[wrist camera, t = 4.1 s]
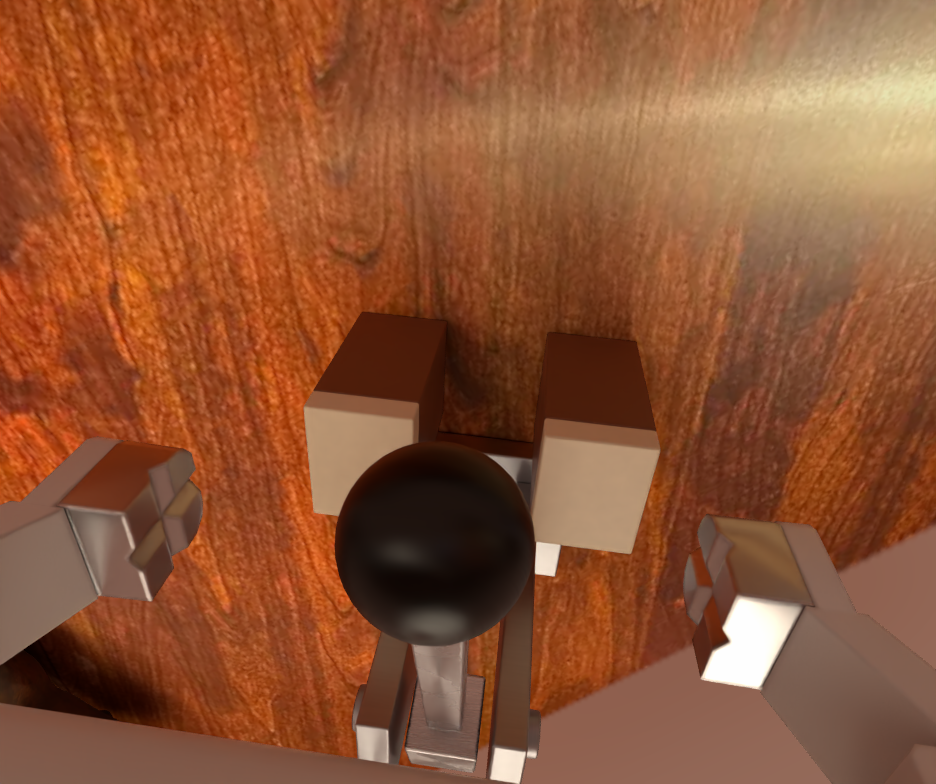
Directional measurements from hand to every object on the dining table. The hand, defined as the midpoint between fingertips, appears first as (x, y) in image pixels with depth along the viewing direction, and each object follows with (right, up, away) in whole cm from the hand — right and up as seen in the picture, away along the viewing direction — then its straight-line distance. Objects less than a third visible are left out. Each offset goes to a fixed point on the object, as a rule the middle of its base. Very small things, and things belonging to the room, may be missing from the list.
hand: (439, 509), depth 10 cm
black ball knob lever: (0, -3, +6) cm, 7 cm away
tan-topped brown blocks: (+1, +3, +16) cm, 17 cm away
